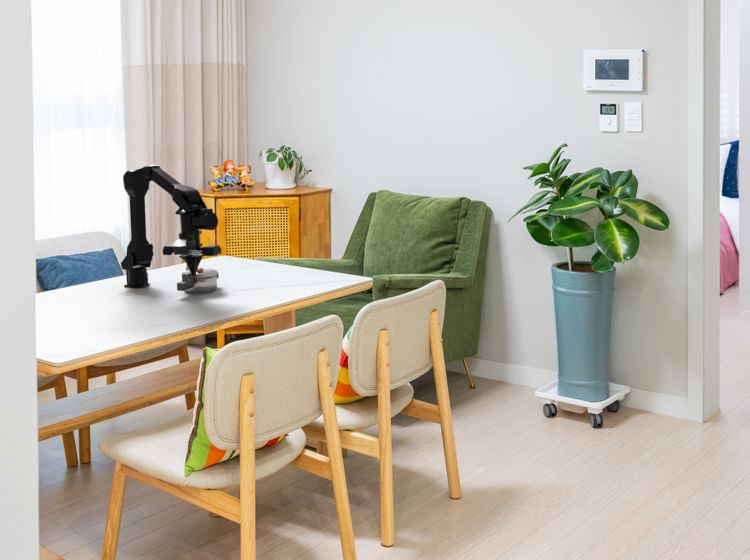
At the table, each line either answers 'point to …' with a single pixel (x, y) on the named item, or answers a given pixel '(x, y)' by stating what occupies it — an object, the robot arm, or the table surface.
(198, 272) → the lid
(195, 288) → the pot
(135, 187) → the robot arm
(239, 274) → the table surface
